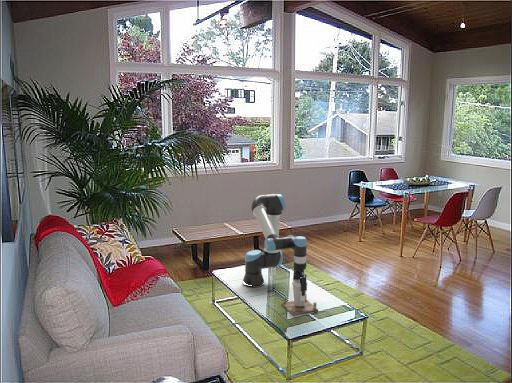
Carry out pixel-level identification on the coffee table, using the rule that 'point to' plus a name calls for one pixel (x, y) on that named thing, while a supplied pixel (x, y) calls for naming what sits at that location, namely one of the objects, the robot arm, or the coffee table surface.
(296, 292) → the coffee cup
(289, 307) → the standoff base
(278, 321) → the coffee table surface
